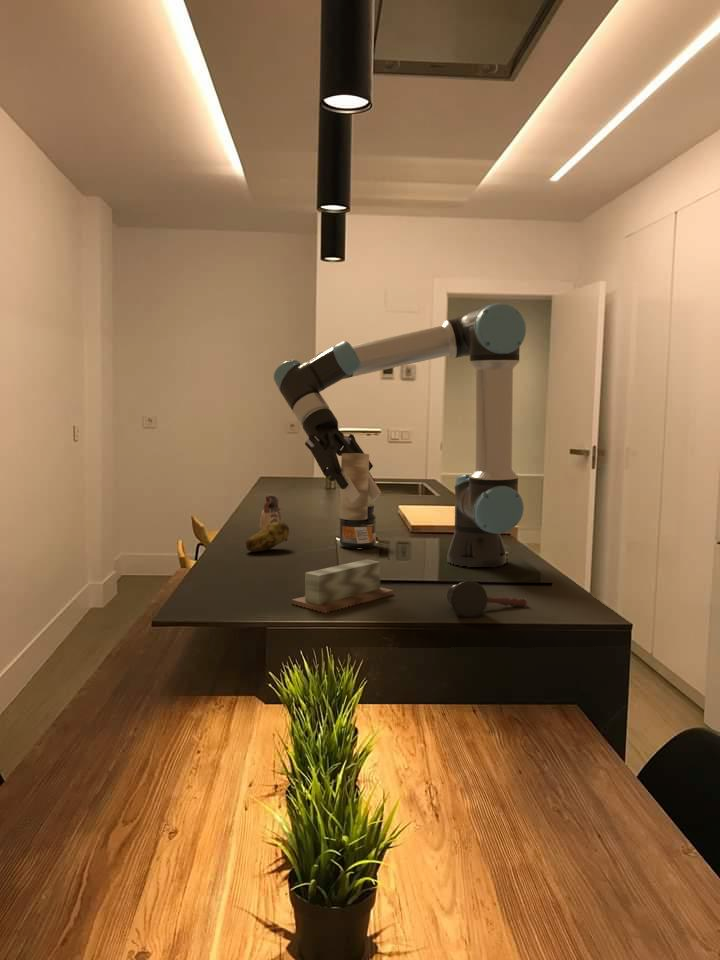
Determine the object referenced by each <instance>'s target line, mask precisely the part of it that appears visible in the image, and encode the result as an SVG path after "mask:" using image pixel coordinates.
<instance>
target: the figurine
mask: <svg viewBox="0 0 720 960" xmlns="http://www.w3.org/2000/svg"><path fill="white" fill-rule="evenodd" d="M264 498H265V502H264V505H263V509H262V511H261V514H260V520H259V525H258V526H259V527H258V528H259V531H260V530H261V529H263V528H264V527H265V526H266V525H268V524H270V523H271V522H275V521H280V522H282V516H281V513H280V511H281V508H280V507H279V498H278V497H277V496H275V494H266V495H265V496H264Z"/></svg>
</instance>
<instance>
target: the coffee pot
mask: <svg viewBox="0 0 720 960" xmlns="http://www.w3.org/2000/svg"><path fill="white" fill-rule="evenodd" d="M446 598H447V601H448V603H449V605H450V606H451V608H452V611H453V612H454V613H455V614H456V615H457V616H459V617H460V618H463V619H474V618H477V617H480V616H481V615H482V614H483V613H484V611H485V610H486V608H487V606H488V604H489V603H490V604H494V603H495V604H498V605H501V606H505V607H507V606H510V607H517V608H524V609H526V607H527V605H528V602H527V599H526V598H516V597H511V598H509V597H507V596H506V597H490V596H488V594H487V591H486V589H485V588H484V586H482V584H480V583H478V582H476V581H474V580H464V581H462V582H459V583H456V584H453V585H452V586H451V587H450V588H449V589H448V590H447V595H446Z"/></svg>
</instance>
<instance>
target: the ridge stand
mask: <svg viewBox="0 0 720 960" xmlns="http://www.w3.org/2000/svg"><path fill="white" fill-rule="evenodd" d="M304 582H305V583H304V592H305V593H304V596H301V597H297V598H291V599H292V600H291V605H292V604H294V605H293V606H296V605H298V607H300V606H302V608H304V607H305V609H308V608H309V609H308V610H312V609H313V610H312V611H316V610H317V612H320V611H321V612H320V613H323V614H327V612H328V613H331V612H330V611H332V612H335V611H338V609H339V610H342V609H341V608H343V609H346V608H349V607H348V606H350V607H352V605H353V606H356V605H355V604H357V605H360V603H361V604H364V603H368V602H372V601H374V600H379V599H381V598H386V597H390V596H392V595H394V589H391V588H385V587H381V561H376V560H372V559H361V560H357V561H354V562H353V561H351V562H348V563H343V564H339V565H334V566H330V567H326V568H321V569H316V570H311V571H306V572H304ZM345 607H346V608H345ZM334 610H335V611H334Z"/></svg>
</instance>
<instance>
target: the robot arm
mask: <svg viewBox="0 0 720 960" xmlns="http://www.w3.org/2000/svg"><path fill="white" fill-rule="evenodd" d="M526 333H527V327H526V321H525V319H524V317H523V315H522V313H520V311H519V310H518V309H517V308H516V307H514V306H513V305H510V304H508V303H503V302H501V303H497V302H495V303H488V304H487V305H485V306H483V307H478V308H477V309H474V310H473V311H470V312H468V313H466V314H464V315H461V316H458V317H456V318H451V319H447V320H445V321H444V322H443V324H442V325H440V326H434V327H429V328H425V329H422V330H421V329H420V330H417V331H412V332H409V333H407V332H406V333H401V334H398V335H395V336H394V335H393V336H390V337H386V338H381V339H376V340H373V341H368V342H362V343H359V344H358V343H357V344H354V345H352V344H350V343H349V342H348V341H346V340H343V341H341V342H339V343H338V344H335V345H333V346H332V347H330V348H329V349H327V350H325V351H322V352H319V353H318V354H317V355H315V357H313V358H312V359H309V361H307V362H303V363H301V361H299V360H297V359H290V360H286V361H284V362H282V363H281V364H279V365H278V366H277V368H276V369H275V371H274V373H273V380H274V382H275V384H276V386H277V388H278V390H279V392H280V394H281V395H282V396H283V399H284V400H285V401H286V403H287V404H288V406H289V408H290V410H291V411H292V412H293V414H294V416H295V417H296V418H297V421H298V422H299V423H300V425H301V426H302V429H303V431H304V433H305V434H306V436H307V437H308V439H306V441H305V443H304V445H305V446H306V447H307V448H308V449H309V451H310V452H311V454H312V455H313V457H314V460H315V461H316V463H317V465H318V467H319V468H320V470H321V471H322V474H323V476H324V477H326V478H328V477H329V480H330V481H331V482H334V481H335V482H336V483H337V484H338V487H339V488H340V490H341V489H343V491H344V492H345V494H346V496H347V497H348V499H349V501H350V502H351V503H354V502H355V501H356V499H357V498H358V497H359V496H360V494H359V492H358V491H357V489H356V487H355V486H354V484H353V483H352V481H351V479H350V478H349V476H348V475H347V473H346V471H344V472H342V473H341V471H342V470H341V464H340V461H339V458H338V456H339V457H342V454H343V453H363V454H365V452H364V450H363V449H362V448H361V447H360V445H359V444H358V442H357V440H356V438H355V436H354V434H353V433H350V434H349V435H344V433H343V432H342V431H340V429H339V421H338V419H337V417H336V416H335V415H334V413H333V412H332V410H331V409H330V407H329V405H328V403H327V402H326V400H325V399H324V397H323V396H322V394H321V392H322V391H324V390H325V389H327V388H329V387H331V386H332V385H334V384H337V383H338V382H340V381H342V380H346V379H350V378H353V377H358V376H361V375H362V376H363V375H365V374H366V375H367V374H371V373H375V372H380V371H385V370H389V369H394V368H398V367H402V366H408V365H411V364H416V363H420V362H425V361H429V360H434V359H438V358H443V357H447V356H448V357H450V358H451V359H456V358H462V357H469V363H470V365H472V366H473V367H474V368H475V374H476V375H475V376H476V377H475V379H476V380H475V383H476V384H475V385H476V386H475V398H476V399H475V402H476V403H475V469H474V470H473V472H472V473H471V474H459V475H458V476H457V477H456V479H455V485H454V533H453V537H452V538H451V542H450V544H449V548H448V551H447V556H446V557H447V563H448V562H449V563H448V564H450V563H451V564H450V565H453V564H454V565H453V566H456V565H459V566H458V567H462V566H467V567H466V568H470V567H492V568H498V566H499V567H502V566H504V564H505V563H506V564H507V554H506V550H505V547H504V544H503V540H502V536H501V534H505V533H507V532H510V531H511V530H512V529H514V528H516V526H517V525H519V523H520V521H521V520H522V517H523V515H524V510H525V509H524V507H525V506H524V501H523V498H522V496H521V495H520V494H519V476H518V475H517V474H516V472H514V470H513V469H512V467H513V462H512V461H513V459H512V458H513V396H514V395H513V390H514V389H513V384H514V382H513V381H514V379H513V375H514V371H513V370H514V368H515V367H516V366H517V365H518V364H519V363H520V347H521V346H522V344H523V342H524V340H525V338H526ZM373 467H374V465H373V464H372V462H371V460H369V479H368V497H369V498H370V499H371V501H376V500H377V499H378V497H379V496H380V495H381V494H382V491H381V490H380V488H379V486H378V485H377V483H376V480H375V479H374V477H373V476H372V474H371V472H370V471H371V469H373ZM506 564H505V565H506Z"/></svg>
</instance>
